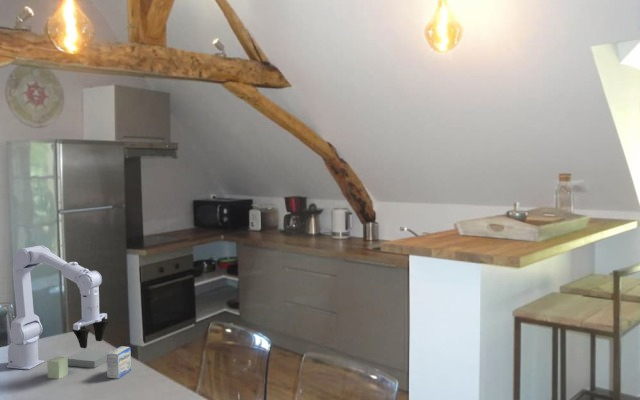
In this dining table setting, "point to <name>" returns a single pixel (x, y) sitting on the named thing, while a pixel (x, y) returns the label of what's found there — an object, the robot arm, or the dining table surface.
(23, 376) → the dining table surface
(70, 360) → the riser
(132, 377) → the dining table surface
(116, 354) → the medicine box
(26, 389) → the dining table surface
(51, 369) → the green block
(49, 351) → the dining table surface
